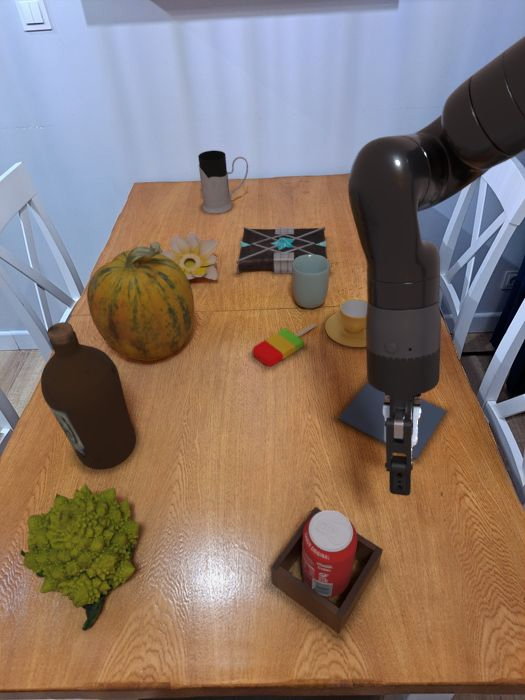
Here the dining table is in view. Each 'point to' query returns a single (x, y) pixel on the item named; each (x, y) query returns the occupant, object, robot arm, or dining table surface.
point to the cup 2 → (349, 323)
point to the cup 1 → (310, 280)
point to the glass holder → (216, 181)
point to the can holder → (309, 597)
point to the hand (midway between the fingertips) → (402, 469)
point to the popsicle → (279, 346)
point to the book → (278, 248)
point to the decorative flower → (193, 256)
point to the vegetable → (83, 547)
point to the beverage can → (328, 552)
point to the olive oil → (87, 400)
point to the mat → (370, 418)
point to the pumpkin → (142, 303)
